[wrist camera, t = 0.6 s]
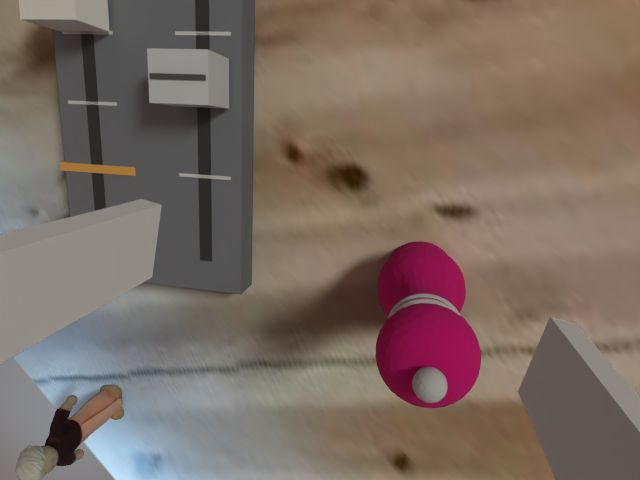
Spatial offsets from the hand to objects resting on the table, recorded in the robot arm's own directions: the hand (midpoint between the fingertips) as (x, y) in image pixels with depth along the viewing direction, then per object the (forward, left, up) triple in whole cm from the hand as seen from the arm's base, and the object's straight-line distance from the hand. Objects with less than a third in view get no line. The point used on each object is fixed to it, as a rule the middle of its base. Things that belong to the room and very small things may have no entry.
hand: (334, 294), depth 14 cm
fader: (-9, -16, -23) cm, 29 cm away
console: (-5, -21, -27) cm, 34 cm away
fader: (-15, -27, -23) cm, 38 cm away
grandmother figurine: (+26, -29, -27) cm, 48 cm away
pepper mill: (+7, +4, -27) cm, 28 cm away
